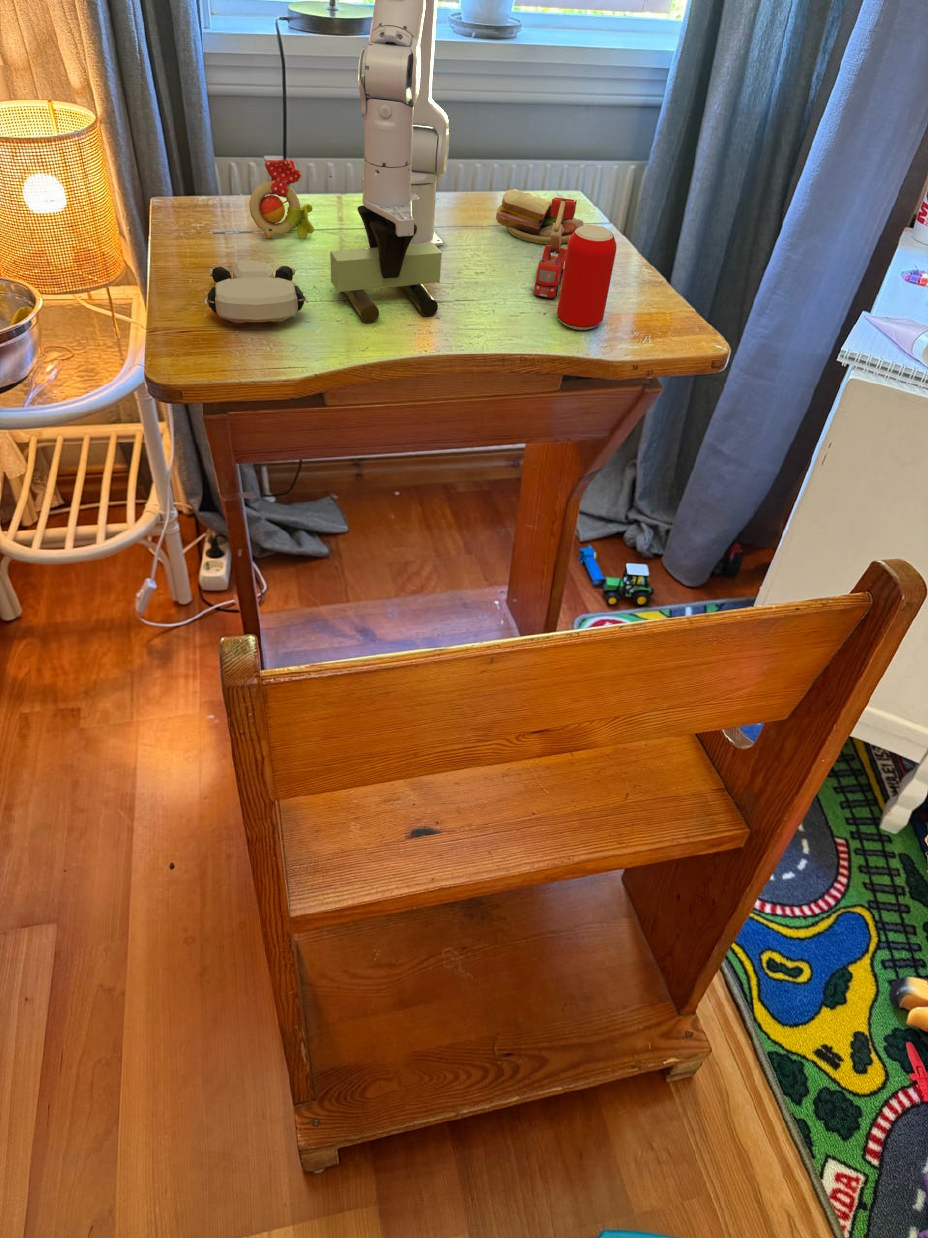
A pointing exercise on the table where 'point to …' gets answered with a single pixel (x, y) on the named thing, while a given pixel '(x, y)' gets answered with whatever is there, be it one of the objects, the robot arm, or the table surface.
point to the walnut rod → (363, 305)
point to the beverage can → (586, 277)
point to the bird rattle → (280, 202)
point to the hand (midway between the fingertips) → (385, 270)
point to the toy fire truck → (550, 264)
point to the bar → (365, 273)
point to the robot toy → (254, 293)
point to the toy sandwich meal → (532, 218)
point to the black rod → (422, 299)
